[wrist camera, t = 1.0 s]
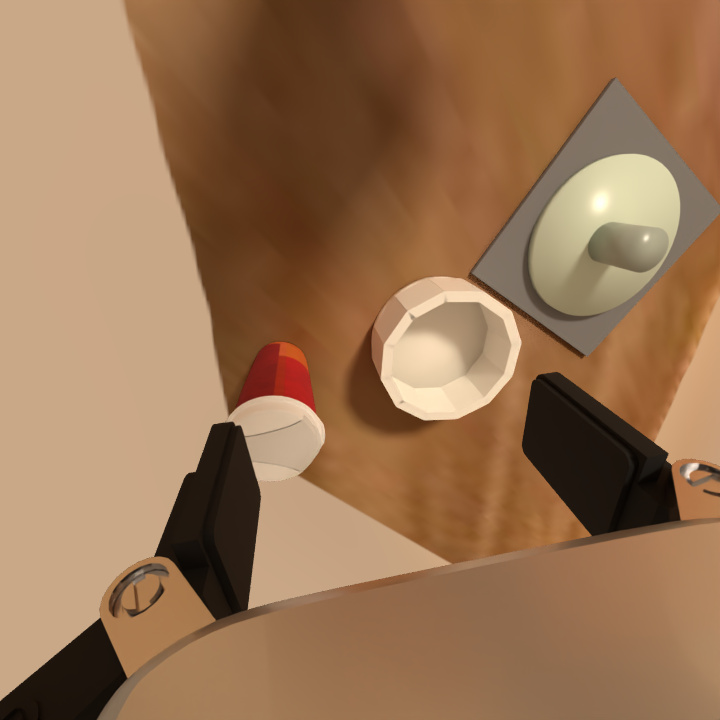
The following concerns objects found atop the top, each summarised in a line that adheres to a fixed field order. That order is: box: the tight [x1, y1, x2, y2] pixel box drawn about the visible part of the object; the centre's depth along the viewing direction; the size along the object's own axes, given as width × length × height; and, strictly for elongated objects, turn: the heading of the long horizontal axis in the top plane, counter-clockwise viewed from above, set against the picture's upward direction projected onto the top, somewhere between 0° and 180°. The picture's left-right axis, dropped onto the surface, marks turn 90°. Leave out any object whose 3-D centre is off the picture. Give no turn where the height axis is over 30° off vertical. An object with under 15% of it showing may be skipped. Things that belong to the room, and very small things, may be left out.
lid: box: [528, 154, 680, 316], centre depth 35 cm, size 16×16×6 cm
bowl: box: [371, 276, 521, 420], centre depth 38 cm, size 14×14×6 cm
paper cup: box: [226, 342, 325, 482], centre depth 33 cm, size 8×8×14 cm
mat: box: [470, 78, 720, 357], centre depth 38 cm, size 20×20×1 cm
